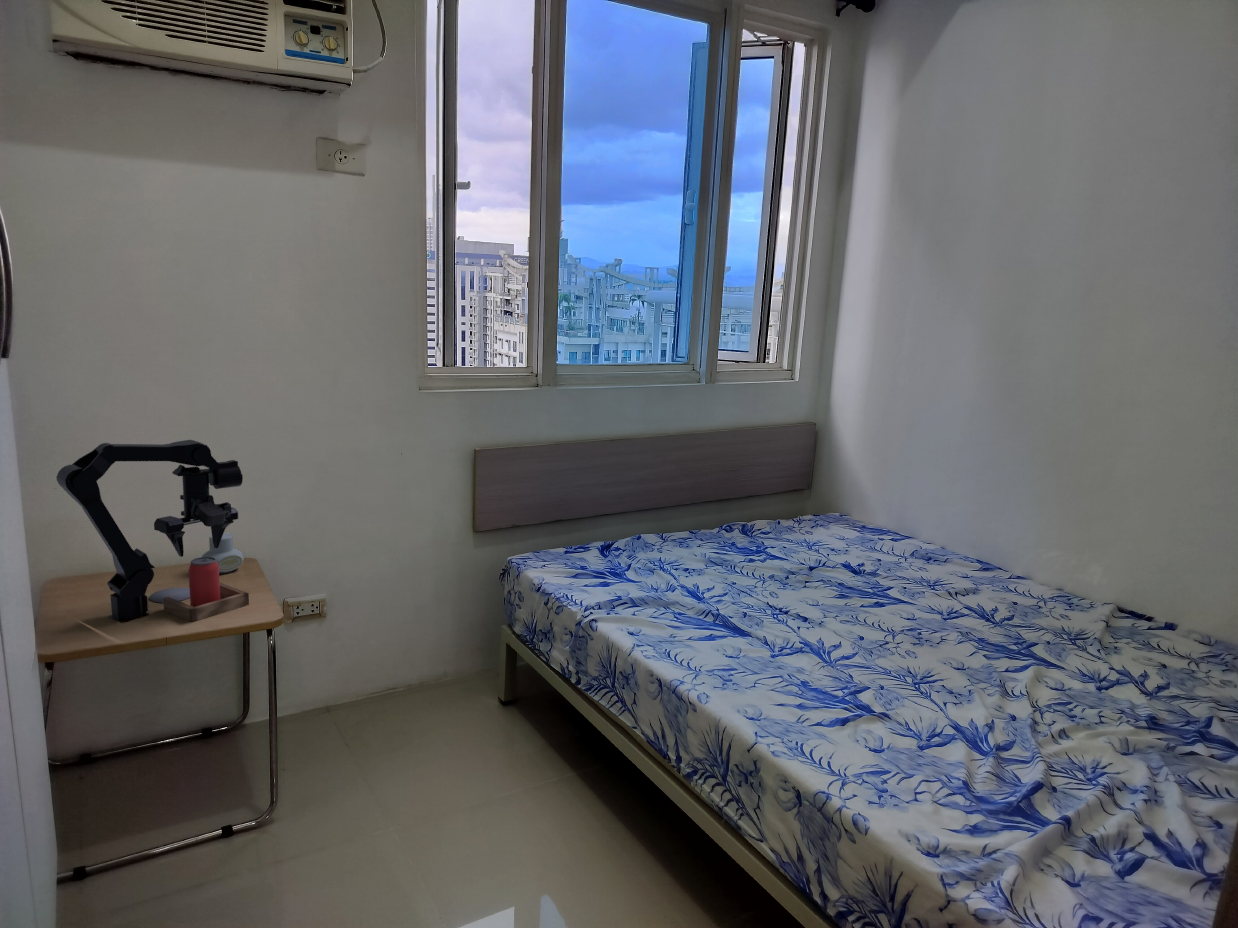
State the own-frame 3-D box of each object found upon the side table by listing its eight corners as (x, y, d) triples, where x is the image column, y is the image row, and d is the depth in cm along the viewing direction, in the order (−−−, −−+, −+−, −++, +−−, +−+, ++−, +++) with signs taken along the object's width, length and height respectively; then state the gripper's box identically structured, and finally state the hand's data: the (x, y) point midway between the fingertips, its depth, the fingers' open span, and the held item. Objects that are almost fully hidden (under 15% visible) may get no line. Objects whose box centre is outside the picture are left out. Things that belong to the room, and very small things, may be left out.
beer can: (226, 602, 198) (224, 557, 195) (210, 612, 191) (207, 565, 189) (201, 600, 198) (198, 555, 196) (184, 610, 192) (181, 563, 189)
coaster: (163, 605, 194) (163, 604, 194) (141, 596, 199) (141, 595, 199) (202, 594, 202) (202, 593, 202) (181, 586, 207) (180, 584, 207)
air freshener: (210, 578, 214) (208, 542, 212) (195, 571, 219) (193, 536, 217) (249, 569, 223) (247, 535, 221) (234, 562, 228) (232, 529, 226)
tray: (192, 621, 185) (191, 609, 185) (164, 609, 191) (163, 597, 191) (249, 604, 197) (248, 593, 197) (220, 593, 204) (219, 582, 203)
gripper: (179, 503, 182) (182, 567, 185) (251, 490, 198) (253, 549, 201) (151, 495, 188) (154, 558, 190) (223, 483, 204) (225, 541, 206)
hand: (199, 552), depth 197 cm, fingers open, 9 cm apart
